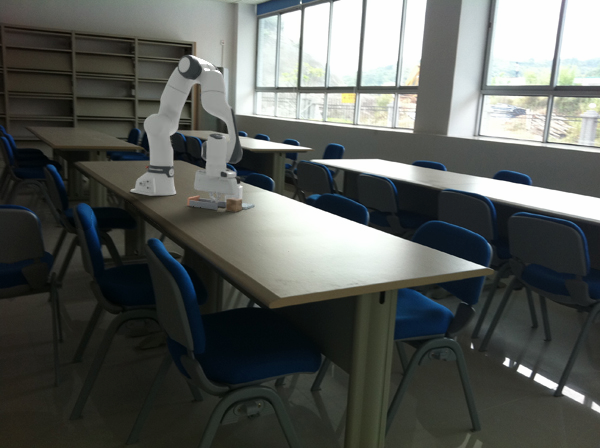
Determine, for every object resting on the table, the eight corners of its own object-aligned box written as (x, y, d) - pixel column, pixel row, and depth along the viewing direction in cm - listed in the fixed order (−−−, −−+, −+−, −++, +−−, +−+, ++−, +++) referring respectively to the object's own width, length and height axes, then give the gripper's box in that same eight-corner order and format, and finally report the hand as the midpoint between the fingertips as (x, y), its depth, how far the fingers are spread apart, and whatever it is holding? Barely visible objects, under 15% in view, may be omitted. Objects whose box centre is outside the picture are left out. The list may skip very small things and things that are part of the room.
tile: (227, 207, 234) (227, 204, 234) (237, 204, 243) (237, 202, 242) (245, 209, 231) (245, 207, 231) (254, 206, 240) (254, 204, 239)
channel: (187, 205, 232) (187, 198, 231) (197, 203, 240) (198, 195, 239) (216, 209, 227) (216, 201, 226) (226, 207, 234) (226, 199, 234)
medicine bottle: (242, 200, 254) (243, 176, 251) (239, 202, 247) (240, 177, 244) (228, 199, 254) (228, 175, 252) (224, 201, 247) (225, 176, 245)
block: (226, 210, 227) (226, 199, 226) (231, 208, 232) (232, 197, 231) (236, 211, 225) (236, 200, 224) (241, 210, 230) (242, 199, 229)
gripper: (191, 169, 229) (190, 200, 232) (232, 174, 222) (231, 206, 225) (199, 168, 235) (198, 198, 238) (239, 173, 227) (238, 204, 230)
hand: (214, 202), depth 231 cm, fingers closed
